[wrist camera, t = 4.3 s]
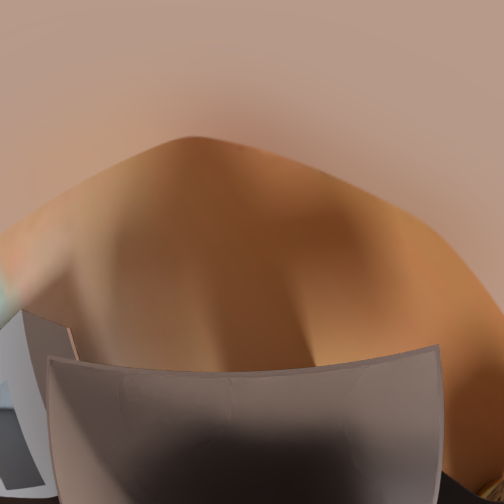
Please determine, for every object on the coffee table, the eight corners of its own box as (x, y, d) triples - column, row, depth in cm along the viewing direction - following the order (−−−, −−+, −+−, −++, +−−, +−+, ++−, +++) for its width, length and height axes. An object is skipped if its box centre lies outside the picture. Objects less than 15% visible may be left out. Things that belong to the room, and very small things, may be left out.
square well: (155, 505, 11) (113, 533, 6) (51, 519, 9) (13, 527, 4) (69, 328, 17) (21, 309, 12) (-4, 387, 15) (-42, 378, 10)
